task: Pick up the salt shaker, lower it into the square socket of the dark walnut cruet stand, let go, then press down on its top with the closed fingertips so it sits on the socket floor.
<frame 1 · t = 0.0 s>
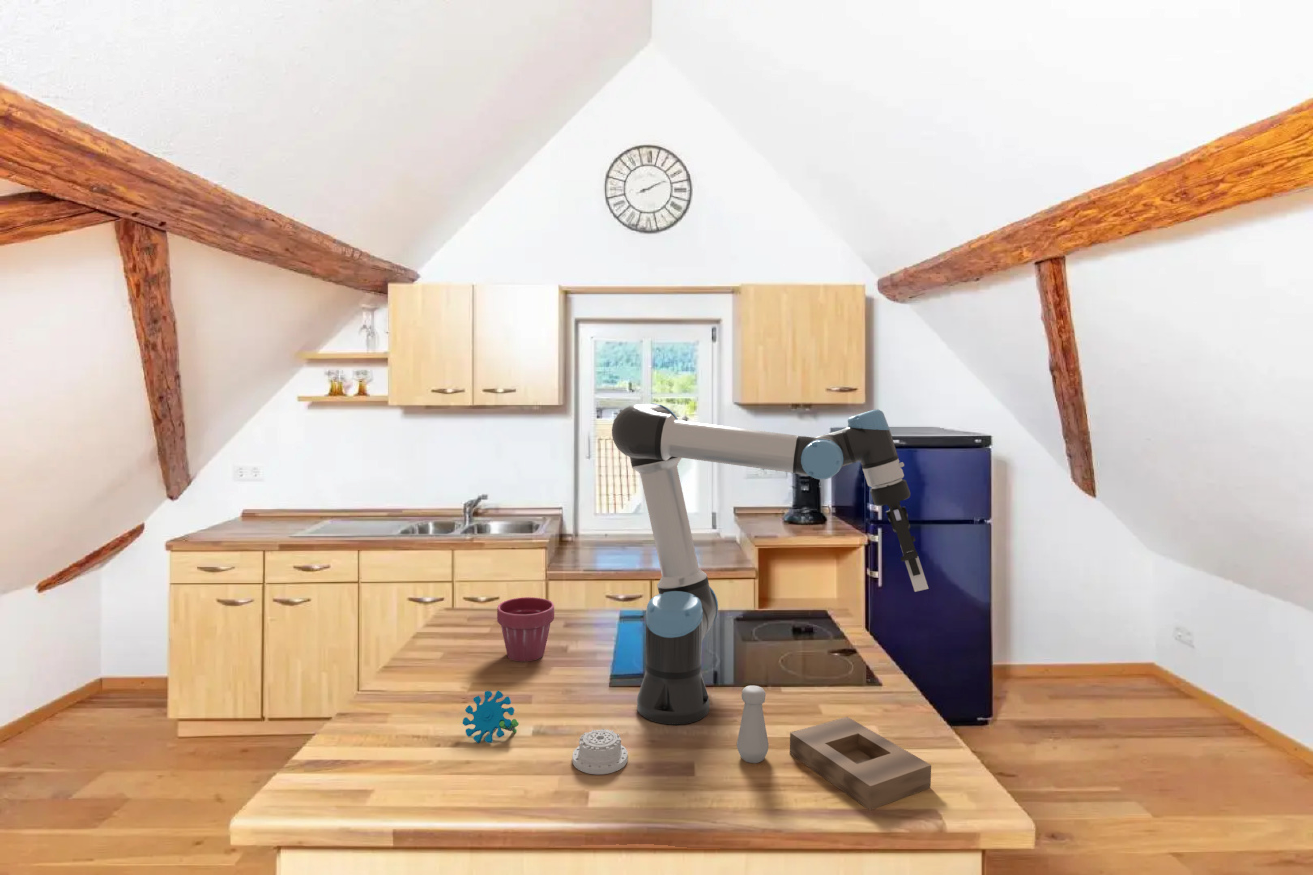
hand: (918, 581, 147), 28 cm above the counter, tool tilted 20°, fingers open, 13 cm apart
mechanical component: (600, 762, 128), on the counter
coronavirus model: (491, 736, 137), on the counter
cruet stand: (857, 769, 126), on the counter
plant pot: (526, 655, 178), on the counter
salt shaker: (752, 758, 130), on the counter
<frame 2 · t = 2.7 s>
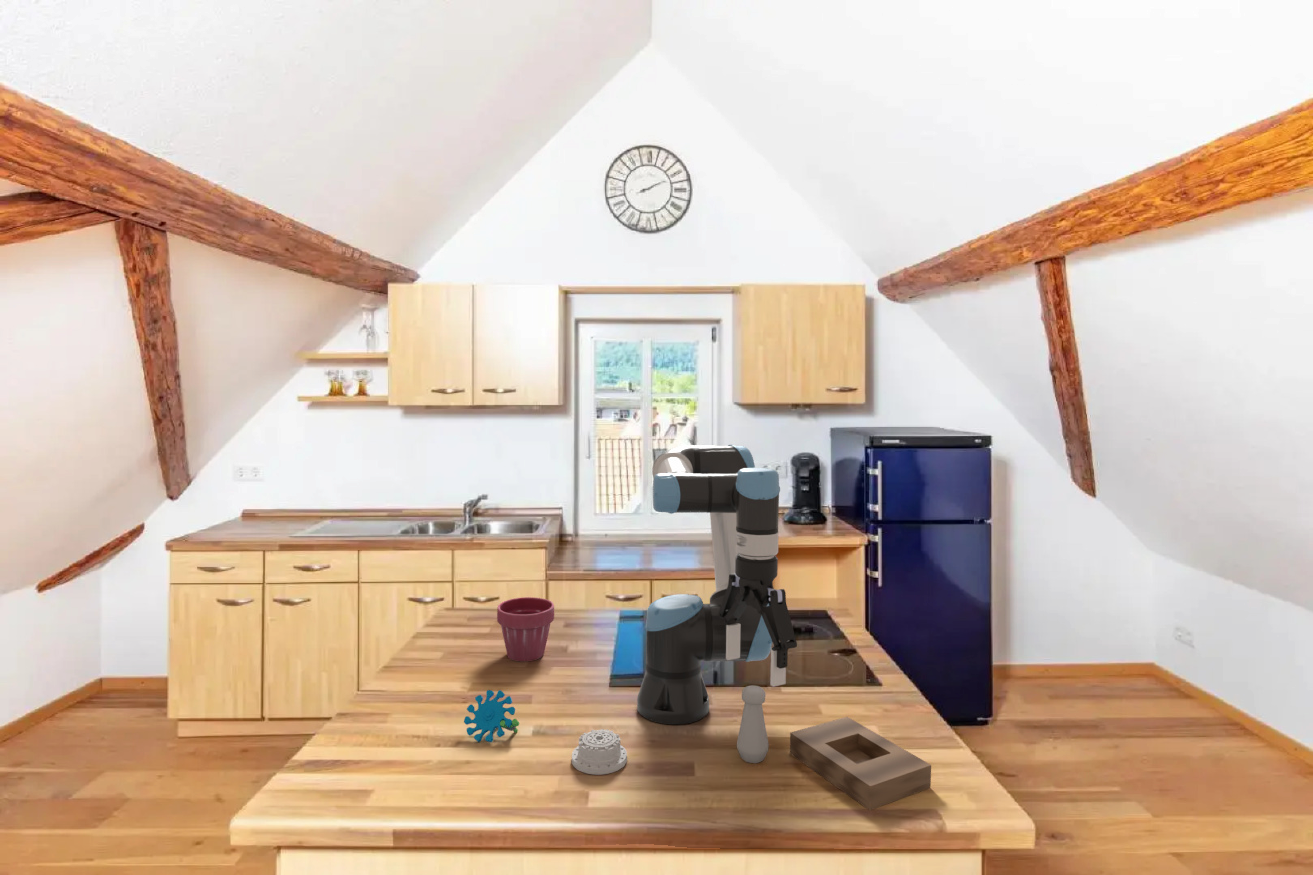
hand: (754, 671, 128), 16 cm above the counter, tool pointing down, fingers open, 13 cm apart
nothing on the counter moved.
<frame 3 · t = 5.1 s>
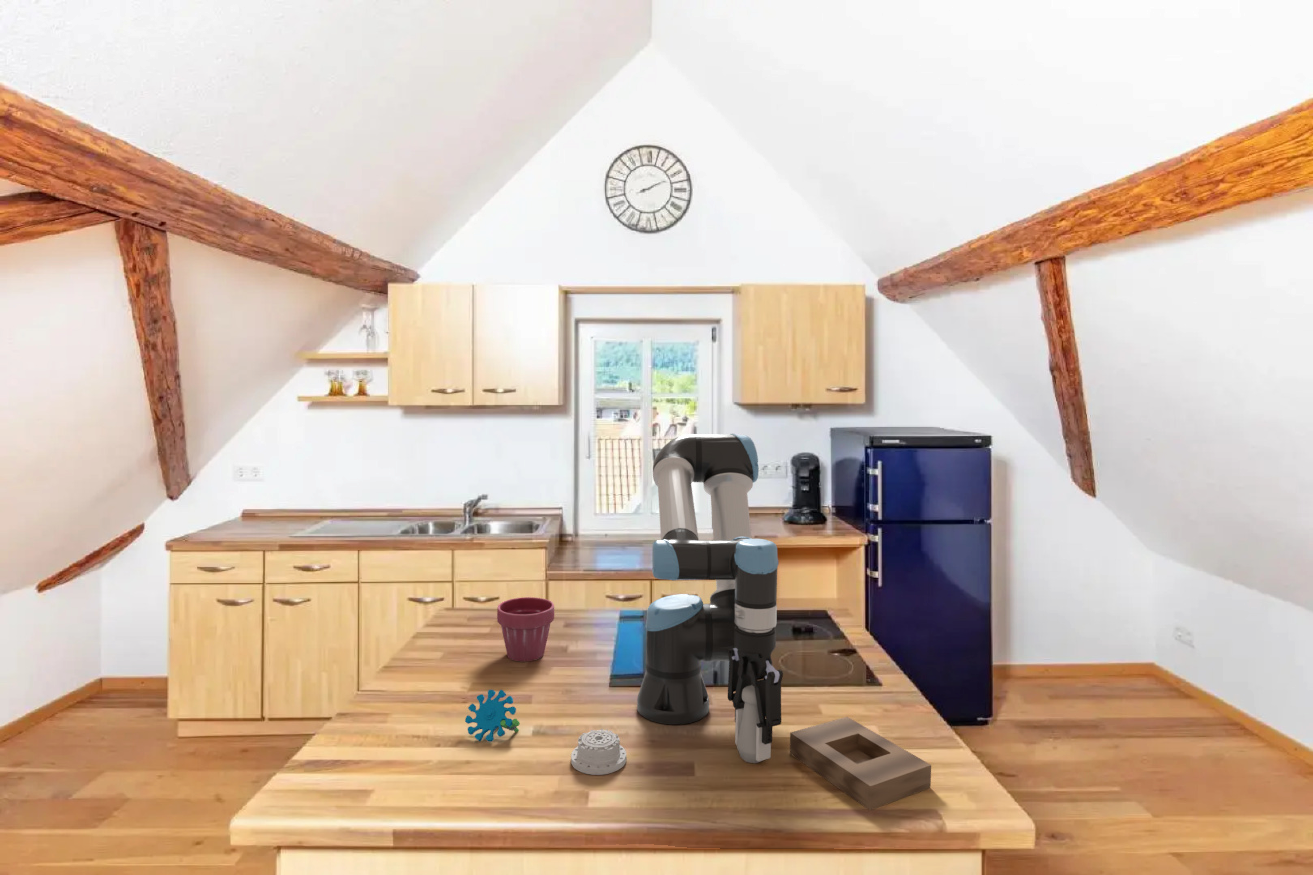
hand: (752, 750, 130), 1 cm above the counter, tool pointing down, fingers closed on salt shaker, 6 cm apart
salt shaker: (752, 758, 130), on the counter, touching gripper
everything else where it was.
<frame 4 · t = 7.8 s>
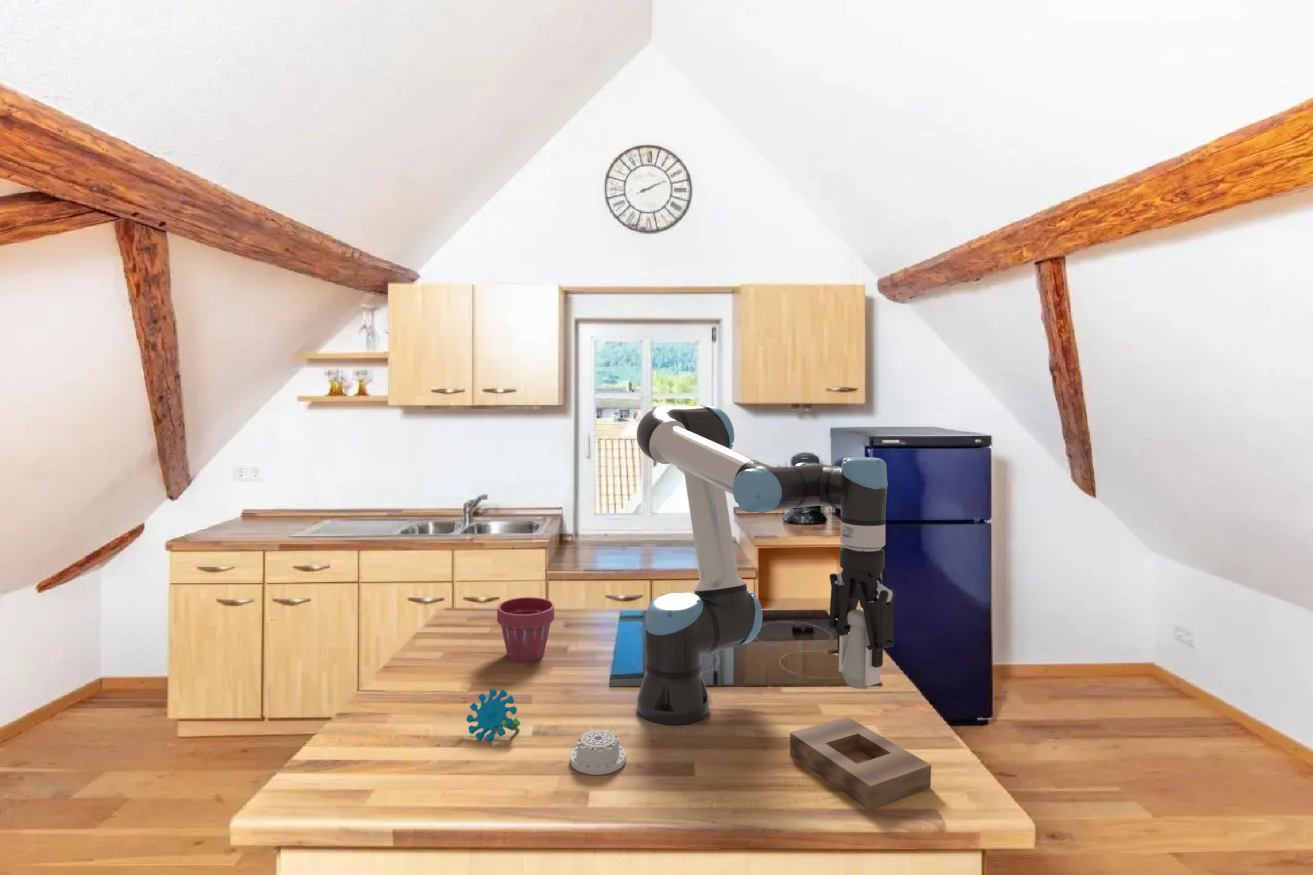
hand: (858, 676, 125), 17 cm above the counter, tool pointing down, fingers closed on salt shaker, 6 cm apart
salt shaker: (858, 685, 125), point 15 cm above the counter, touching gripper
everything else where it was.
when the fingers open (6 cm above the counter, at t = 10.5 s): salt shaker drops 4 cm, resting on cruet stand.
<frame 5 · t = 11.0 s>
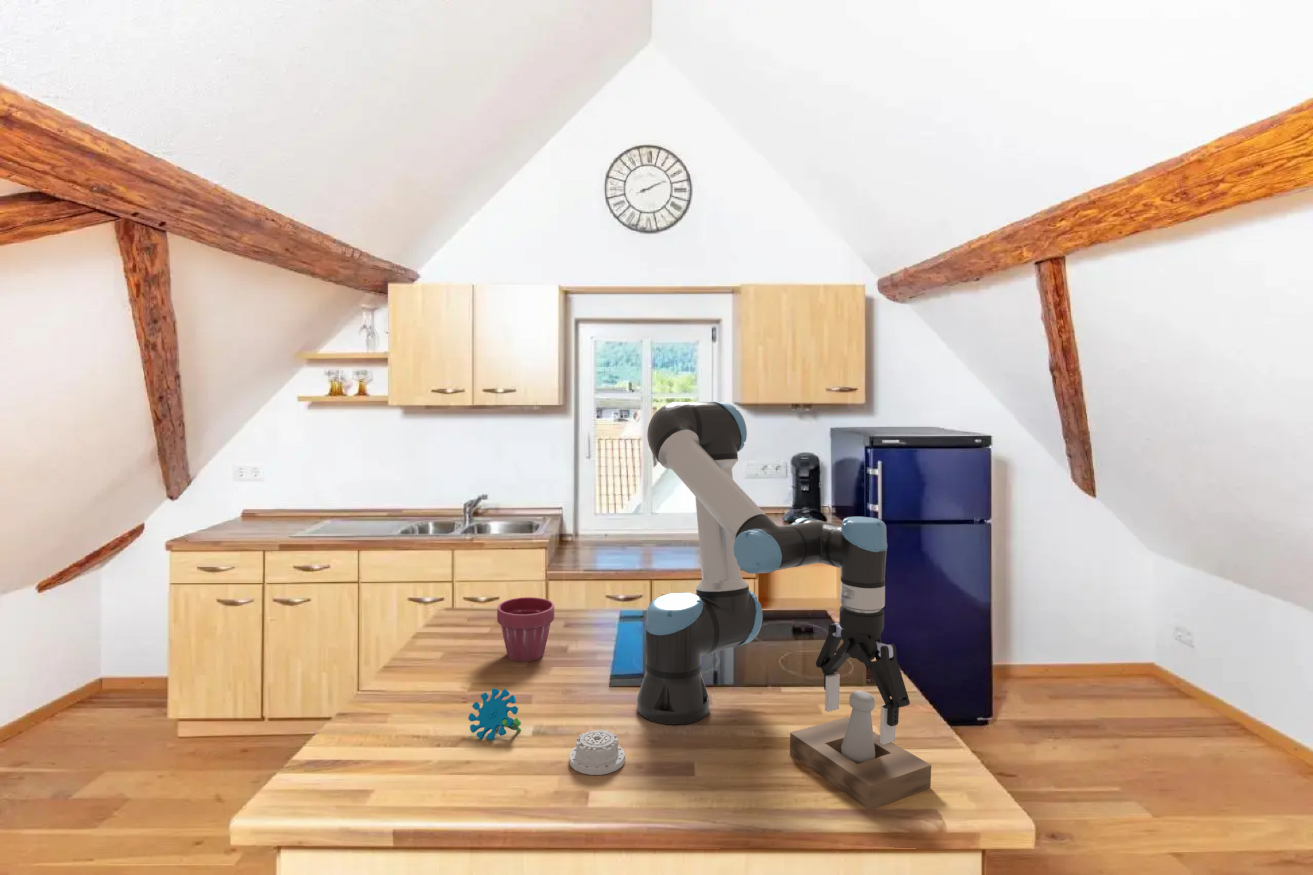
hand: (858, 725, 125), 8 cm above the counter, tool pointing down, fingers open, 13 cm apart
salt shaker: (857, 764, 126), point 1 cm above the counter, touching cruet stand
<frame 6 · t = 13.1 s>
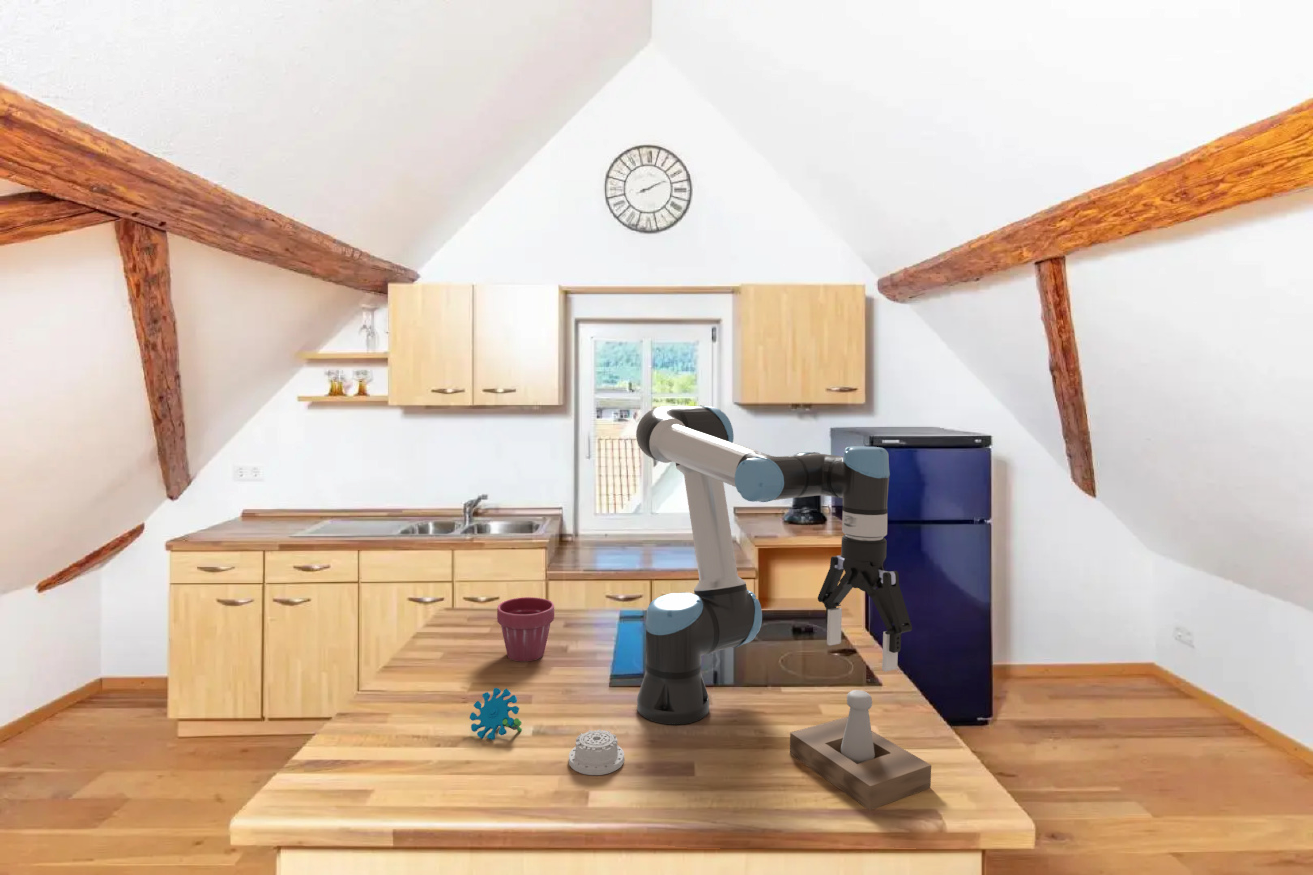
hand: (860, 656, 124), 21 cm above the counter, tool pointing down, fingers open, 13 cm apart
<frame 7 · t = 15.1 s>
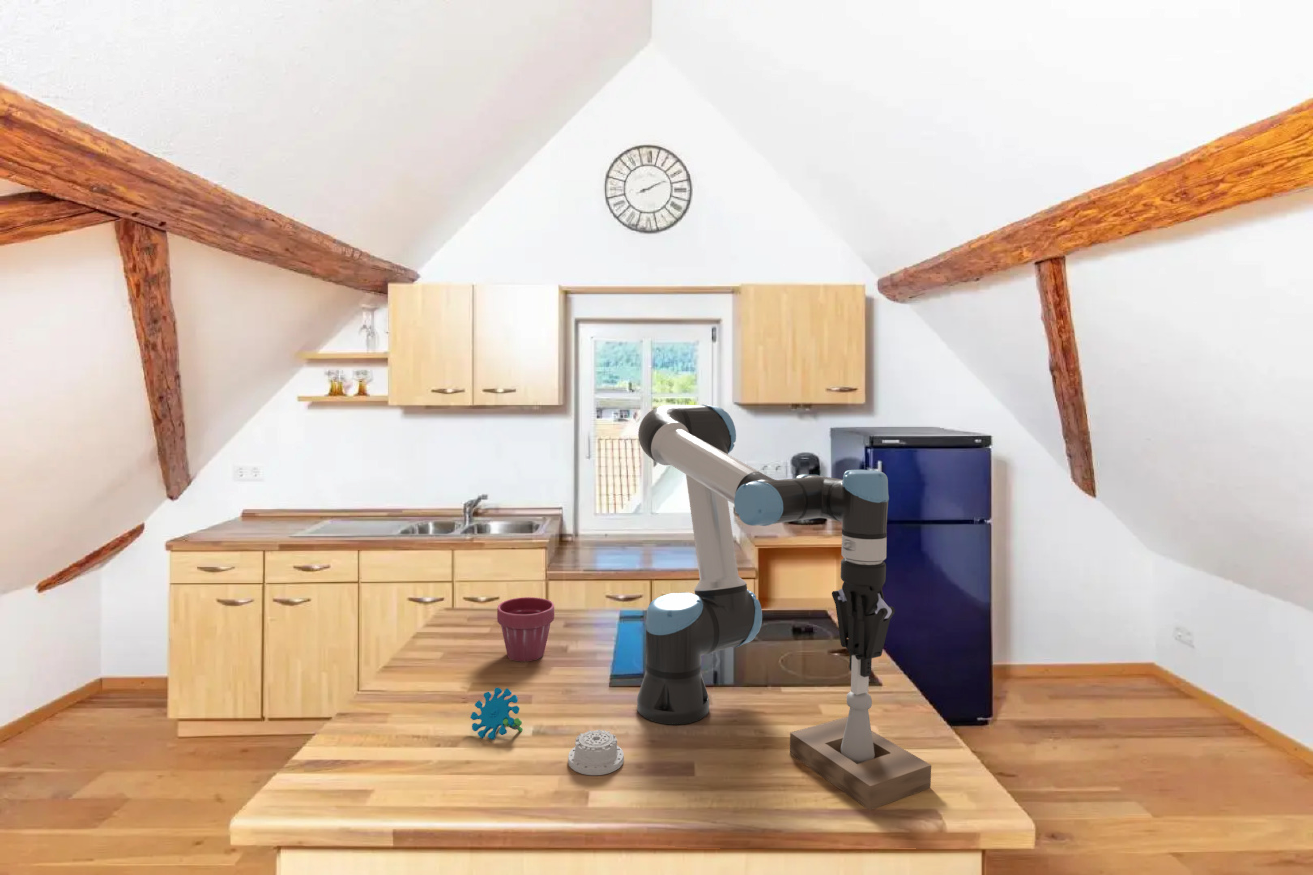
hand: (859, 691, 125), 14 cm above the counter, tool pointing down, fingers closed
salt shaker: (857, 765, 126), point 1 cm above the counter, touching cruet stand, gripper
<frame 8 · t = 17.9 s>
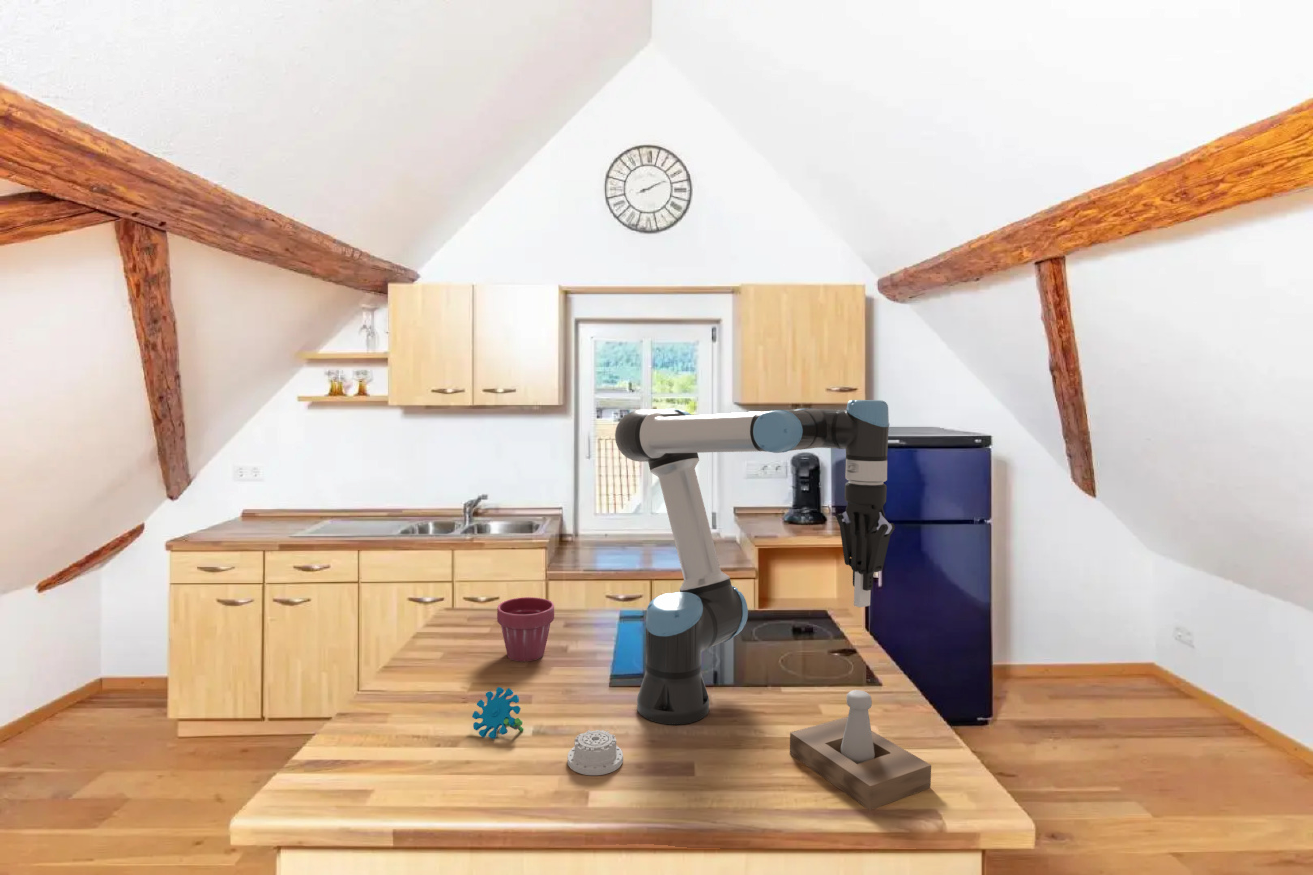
hand: (862, 605, 135), 26 cm above the counter, tool pointing down, fingers closed
salt shaker: (857, 765, 126), point 1 cm above the counter, touching cruet stand
at the end: salt shaker 0.0 cm off-centre on the cruet stand, point 0.8 cm above the cruet stand's base; salt shaker tilted 0°; the gripper is holding nothing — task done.
